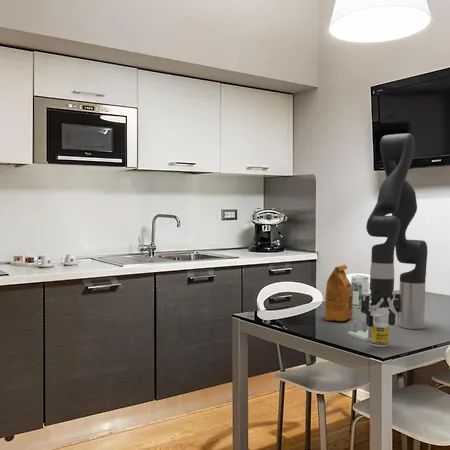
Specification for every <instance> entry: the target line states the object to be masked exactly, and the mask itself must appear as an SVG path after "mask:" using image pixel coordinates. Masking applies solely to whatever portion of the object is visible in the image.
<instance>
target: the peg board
mask: <svg viewBox="0 0 450 450" xmlns="http://www.w3.org/2000/svg"><path fill="white" fill-rule="evenodd" d="M352 324H353V327H352V331H351V330H350V331H347V335H348V336H351V337H354V338H356V339H359V340H361V341H363V342H371V327H368V326H367V324H366V319H365V318H364V319H362V327H361V328H362V329H360V330H358V319H357V320H356V319H353V323H352Z"/></svg>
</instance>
